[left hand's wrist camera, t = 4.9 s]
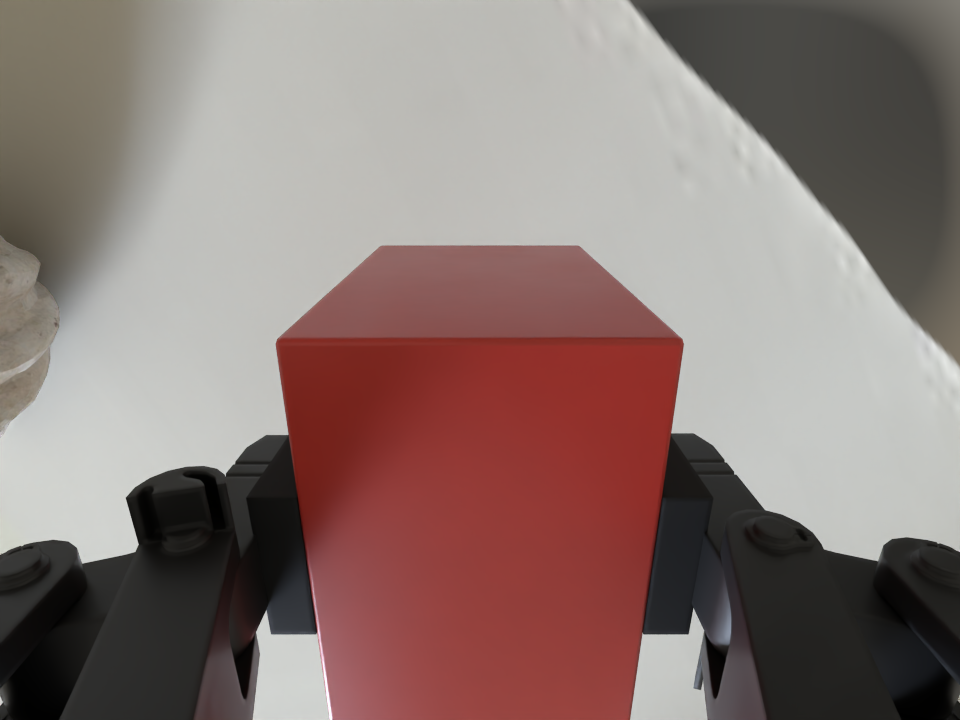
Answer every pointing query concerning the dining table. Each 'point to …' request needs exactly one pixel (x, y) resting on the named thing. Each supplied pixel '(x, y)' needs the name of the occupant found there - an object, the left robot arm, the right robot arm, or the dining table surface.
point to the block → (479, 481)
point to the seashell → (23, 331)
